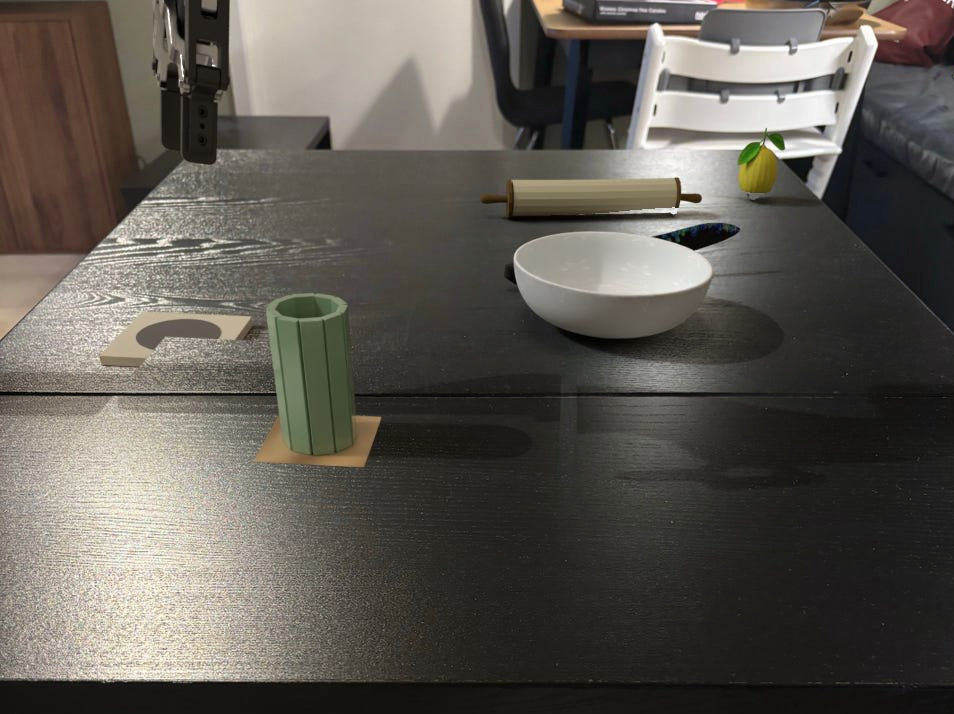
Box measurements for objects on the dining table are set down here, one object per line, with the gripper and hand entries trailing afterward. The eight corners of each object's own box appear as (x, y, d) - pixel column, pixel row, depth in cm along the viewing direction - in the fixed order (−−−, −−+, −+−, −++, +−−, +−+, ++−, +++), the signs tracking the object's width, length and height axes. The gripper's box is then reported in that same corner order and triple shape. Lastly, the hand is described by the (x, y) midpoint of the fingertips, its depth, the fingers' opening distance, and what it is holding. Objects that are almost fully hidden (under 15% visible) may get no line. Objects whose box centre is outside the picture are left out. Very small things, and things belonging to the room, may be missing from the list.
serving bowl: (662, 378, 92) (673, 308, 87) (476, 335, 99) (478, 269, 95) (728, 313, 106) (740, 249, 101) (561, 279, 114) (565, 219, 109)
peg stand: (255, 474, 76) (236, 352, 69) (281, 424, 83) (266, 309, 76) (365, 480, 75) (356, 358, 69) (382, 429, 82) (376, 314, 76)
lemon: (775, 197, 145) (790, 125, 139) (775, 207, 140) (791, 133, 134) (731, 194, 146) (744, 121, 140) (730, 203, 142) (743, 129, 135)
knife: (508, 304, 111) (505, 266, 108) (501, 294, 113) (499, 257, 110) (747, 259, 115) (752, 221, 112) (736, 250, 117) (740, 213, 114)
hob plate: (100, 365, 92) (98, 354, 91) (143, 320, 101) (141, 310, 100) (221, 371, 91) (219, 360, 91) (253, 325, 101) (252, 315, 100)
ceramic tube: (275, 453, 76) (257, 319, 69) (293, 419, 81) (277, 291, 74) (348, 457, 76) (338, 323, 69) (361, 423, 81) (353, 294, 74)
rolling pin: (482, 223, 131) (483, 184, 128) (478, 212, 136) (478, 174, 132) (704, 220, 135) (710, 182, 131) (693, 209, 139) (699, 172, 136)
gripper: (111, -138, 61) (117, 139, 69) (142, -174, 51) (145, 159, 58) (227, -107, 65) (220, 154, 72) (279, -134, 54) (265, 176, 62)
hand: (187, 156), depth 65 cm, fingers open, 8 cm apart
